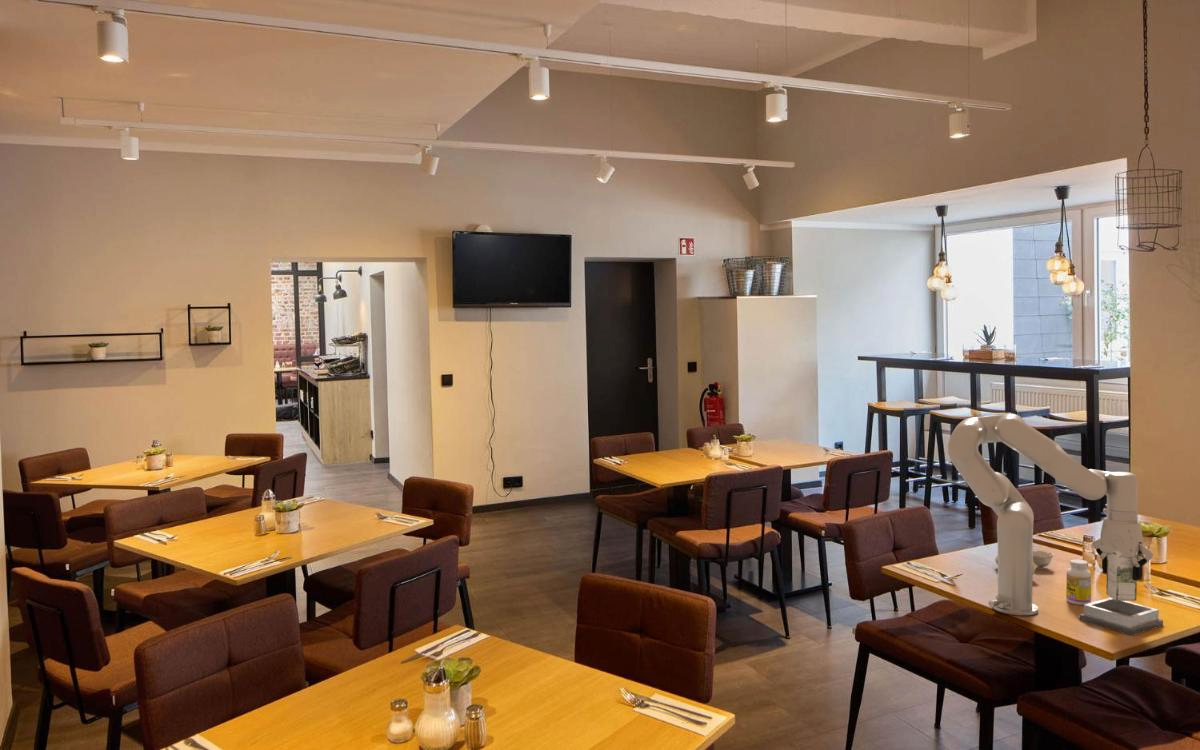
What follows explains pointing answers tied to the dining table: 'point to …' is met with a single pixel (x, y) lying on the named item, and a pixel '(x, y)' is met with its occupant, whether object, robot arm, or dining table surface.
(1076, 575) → the supplement bottle
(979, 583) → the dining table surface
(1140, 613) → the pocket base
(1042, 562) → the chinaware
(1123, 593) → the syrup box
